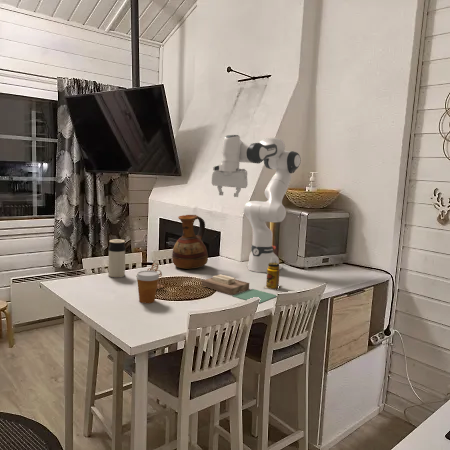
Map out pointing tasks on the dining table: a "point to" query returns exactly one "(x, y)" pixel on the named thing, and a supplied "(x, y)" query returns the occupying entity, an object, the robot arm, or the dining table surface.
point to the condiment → (273, 276)
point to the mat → (255, 295)
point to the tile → (223, 279)
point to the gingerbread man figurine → (156, 271)
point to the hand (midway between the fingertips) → (228, 196)
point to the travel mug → (116, 258)
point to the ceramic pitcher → (190, 245)
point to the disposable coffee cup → (147, 285)
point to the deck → (226, 286)
